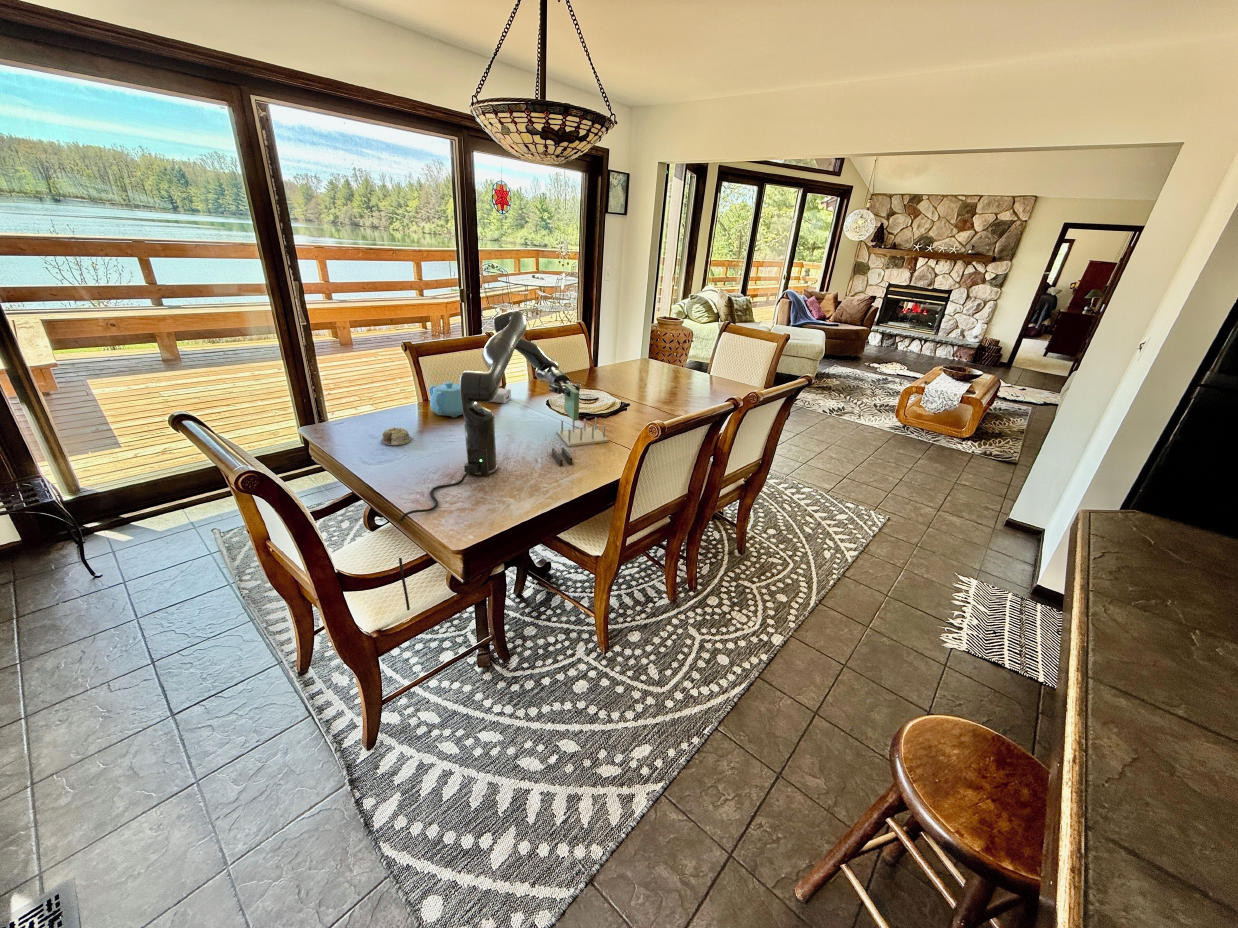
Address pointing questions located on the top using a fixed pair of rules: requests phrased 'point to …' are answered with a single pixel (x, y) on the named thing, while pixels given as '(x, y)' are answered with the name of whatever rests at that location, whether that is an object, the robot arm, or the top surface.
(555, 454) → the pair of dark bars
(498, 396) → the charger
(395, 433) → the cake
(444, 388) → the decorative pot
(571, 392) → the lid
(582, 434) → the dish rack
